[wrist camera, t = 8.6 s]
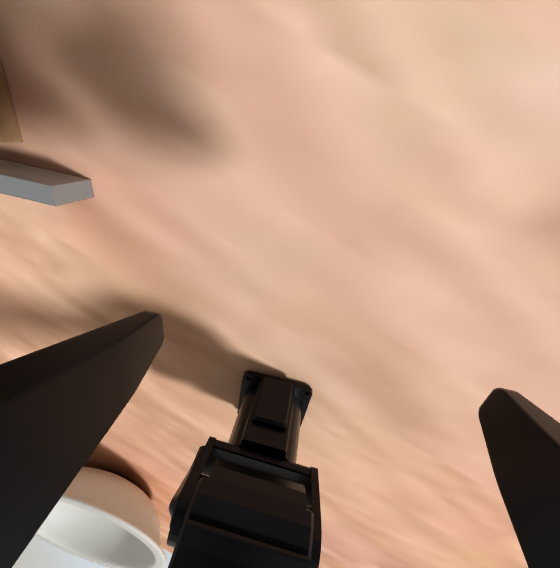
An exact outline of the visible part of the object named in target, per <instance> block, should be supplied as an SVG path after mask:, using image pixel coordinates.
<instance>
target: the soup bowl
mask: <svg viewBox="0 0 560 568" xmlns="http://www.w3.org/2000/svg"><path fill="white" fill-rule="evenodd" d="M35 536H37V537H39V538H40V539H42V540H44V541H46V542H48V543H50V544H51V545H54V546H55V547H58V548H60V549H62V550H64V551H66V552H68V553H70V554H73V555H75V556H78V557H80V558H83V559H85V560H88V561H91V562H94V563H97V564H100V565H103V566H107V567H110V568H163V567H164V565H165V563H166V556H165V553H164V551H163V550H162V548H161V547H160V542H161V532H160V523H159V519H158V515H157V512H156V509H155V507H154V505H153V503H152V502H151V500H150V499H149V497H148V496H147V495H146V494H145V493H144V492H143V491H142V490H141V489H140V488H138V487H137V486H136V485H134V484H133V483H131V482H130V481H128V480H126V479H125V478H123V477H121V476H118V475H116V474H114V473H111V472H108V471H105V470H101V469H97V468H91V467H82V468H81V470H80V471H79V473H78V474H77V475H76V477H75V478H74V480H73V481H72V483H71V484H70V485H69V487H68V488H67V490H66V491H65V493H64V494H63V495H62V497H61V498H60V500H59V501H58V503H57V504H56V505H55V507H54V508H53V510H52V511H51V512H50V514H49V515H48V517H47V518H46V520H45V521H44V522H43V524H42V525H41V527H40V528H39V530H38V531H37V532H36V534H35Z"/></svg>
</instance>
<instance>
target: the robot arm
mask: <svg viewBox="0 0 560 568" xmlns="http://www.w3.org/2000/svg"><path fill="white" fill-rule="evenodd" d="M163 340H164V330H163V320H162V316H161V314H159V313H156V312H152V311H143V312H140V313H138V314H135V315H132V316H130V317H127V318H124V319H122V320H119V321H116V322H114V323H111V324H108V325H105V326H103V327H100V328H97V329H95V330H92V331H89V332H87V333H84V334H81V335H78V336H76V337H73V338H70V339H68V340H65V341H62V342H60V343H57V344H54V345H51V346H49V347H46V348H43V349H41V350H38V351H35V352H33V353H30V354H27V355H24V356H22V357H19V358H16V359H14V360H11V361H8V362H6V363H3V364H0V568H12V567H13V565H14V564H15V562H16V561H17V559H18V558H19V556H20V555H21V554H22V552H23V551H24V549H25V548H26V547H27V545H28V544H29V542H30V541H31V539H32V538H33V537H34V535H35V534H36V532H37V531H38V530H39V528H40V527H41V525H42V524H43V522H44V521H45V520H46V518H47V517H48V515H49V514H50V512H51V511H52V510H53V508H54V507H55V505H56V504H57V503H58V501H59V500H60V498H61V497H62V495H63V494H64V493H65V491H66V490H67V488H68V487H69V485H70V484H71V483H72V481H73V480H74V478H75V477H76V475H77V474H78V473H79V471H80V470H81V468H82V467H83V466H84V464H85V463H86V461H87V460H88V458H89V457H90V456H91V454H92V453H93V451H94V450H95V448H96V447H97V446H98V444H99V443H100V441H101V440H102V438H103V437H104V436H105V434H106V433H107V431H108V430H109V429H110V427H111V426H112V424H113V423H114V421H115V420H116V419H117V417H118V416H119V414H120V413H121V411H122V410H123V409H124V407H125V406H126V404H127V403H128V402H129V400H130V399H131V397H132V396H133V394H134V393H135V391H136V389H137V388H138V386H139V384H140V383H141V381H142V379H143V377H144V375H145V374H146V372H147V370H148V368H149V367H150V365H151V363H152V361H153V359H154V358H155V356H156V354H157V352H158V350H159V349H160V347H161V345H162V343H163ZM311 396H312V388H311V387H309V386H305V385H301V384H297V383H294V382H290V381H286V380H282V379H278V378H275V377H271V376H267V375H263V374H259V373H256V372H252V371H246V372H245V373H244V375H243V380H242V386H241V393H240V399H239V406H238V412H237V413H238V416H237V419H236V422H235V425H234V427H233V430H232V433H231V436H230V439H229V442H228V443H226V442H223V441H219V440H216V439H217V438H214V437H211V436H210V437H209V439H208V441H207V443H206V445H205V446H201V447H200V448H199V450H198V453H197V455H196V457H195V460H194V462H193V464H192V466H191V468H190V470H189V472H188V474H187V475H186V477H185V479H184V480H183V482H182V484H181V485H180V487H179V488H178V490H177V492H176V493H175V495H174V497H173V498H172V500H171V503H170V505H169V512H170V515H171V523H170V531H169V534H168V539H167V545H168V546H171V547H174V551H173V554H172V557H171V560H170V563H169V566H168V568H318V567H319V560H320V552H321V533H322V532H321V512H320V496H319V480H318V469H317V468H314V467H310V468H309V467H306V466H302V465H299V464H296V457H297V448H298V439H299V430H300V426H301V424H302V421H303V418H304V415H305V413H306V410H307V407H308V404H309V402H310V399H311ZM478 414H479V420H480V424H481V427H482V431H483V435H484V438H485V442H486V446H487V449H488V453H489V456H490V460H491V464H492V467H493V471H494V474H495V478H496V481H497V484H498V487H499V490H500V492H501V495H502V498H503V501H504V503H505V506H506V509H507V511H508V514H509V517H510V519H511V522H512V525H513V527H514V530H515V533H516V535H517V538H518V541H519V543H520V546H521V549H522V551H523V554H524V557H525V559H526V562H527V565H528V567H529V568H560V423H559V422H557V421H556V420H555V419H553V418H552V417H551V416H549V415H548V414H547V413H545V412H544V411H542V410H541V409H540V408H538V407H537V406H536V405H534V404H533V403H532V402H530V401H529V400H528V399H526V398H525V397H523V396H522V395H521V394H519V393H518V392H516V391H513V390H508V389H504V388H496V389H494V390H493V391H492V392H491V393H490V395H489V396H488V397H487V398H486V400H485V401H484V402H483V404H482V405H481V406H480V408H479V413H478Z"/></svg>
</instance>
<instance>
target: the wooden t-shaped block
mask: <svg viewBox="0 0 560 568" xmlns="http://www.w3.org/2000/svg"><path fill="white" fill-rule="evenodd" d="M0 142H23V140H22V136H21V132H20V129H19V125H18V121H17V118H16V114H15V110H14V106H13V103H12V99H11V95H10V92H9V88H8V84H7V80H6V77H5V73H4V69H3V66H2V62H1V58H0Z"/></svg>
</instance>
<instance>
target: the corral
mask: <svg viewBox="0 0 560 568" xmlns="http://www.w3.org/2000/svg"><path fill="white" fill-rule="evenodd" d="M0 193H2V194H6V195H10V196H15V197H19V198H23V199H27V200H32V201H36V202H40V203H44V204H49V205H53V206H59V205H63V204H67V203H71V202H75V201H80V200H84V199H88V198H92V197H94V196H93V190H92V184H91V179H86V178H82V177H78V176H73V175H69V174H64V173H60V172H55V171H51V170H47V169H42V168H38V167H33V166H29V165H25V164H20V163H16V162H11V161H7V160H2V159H0Z"/></svg>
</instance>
